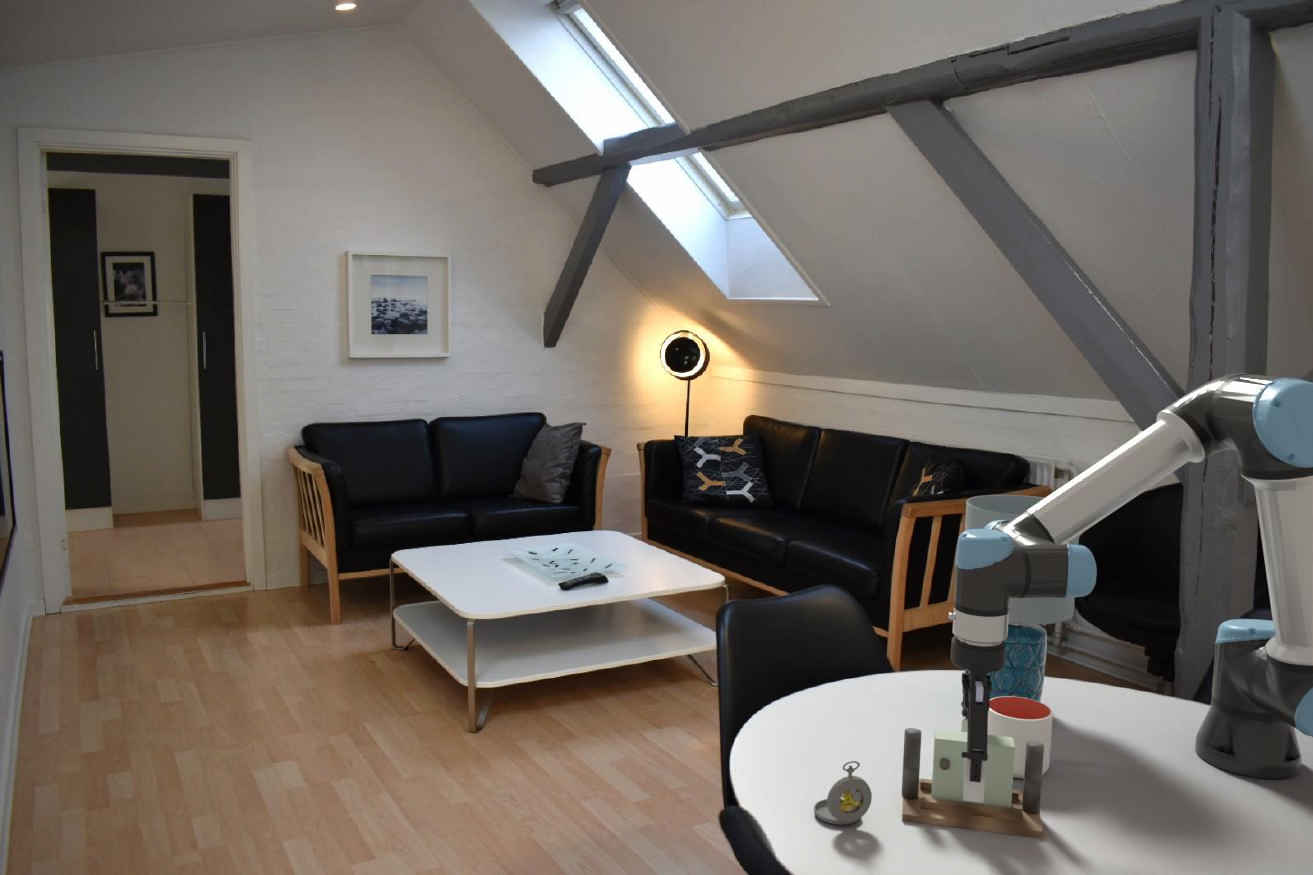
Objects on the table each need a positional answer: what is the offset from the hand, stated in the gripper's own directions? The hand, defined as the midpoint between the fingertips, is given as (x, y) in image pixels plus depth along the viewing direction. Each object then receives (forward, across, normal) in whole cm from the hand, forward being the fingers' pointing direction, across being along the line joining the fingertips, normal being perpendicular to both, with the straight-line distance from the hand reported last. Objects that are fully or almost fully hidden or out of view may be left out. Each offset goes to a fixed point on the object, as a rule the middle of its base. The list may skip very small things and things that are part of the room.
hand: (970, 780), depth 155 cm
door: (+4, 0, 0) cm, 4 cm away
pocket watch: (+5, +8, -18) cm, 20 cm away
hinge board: (+5, 0, 0) cm, 5 cm away
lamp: (+5, -42, +9) cm, 44 cm away
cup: (+5, -17, +8) cm, 19 cm away
